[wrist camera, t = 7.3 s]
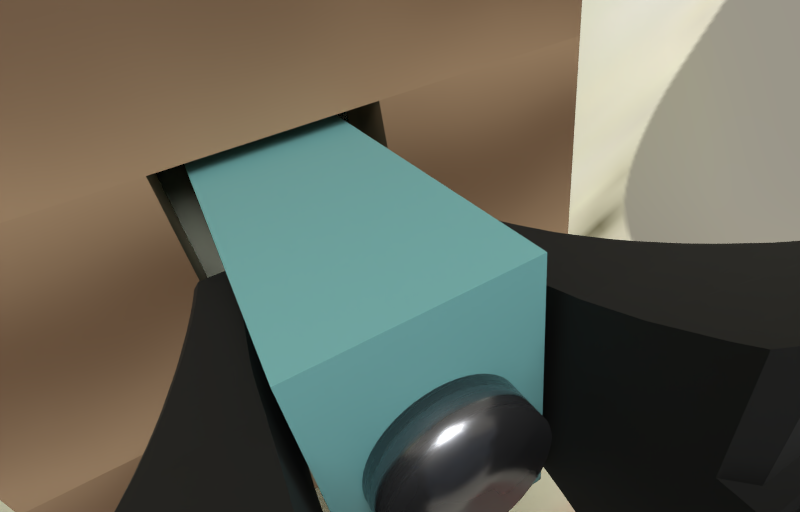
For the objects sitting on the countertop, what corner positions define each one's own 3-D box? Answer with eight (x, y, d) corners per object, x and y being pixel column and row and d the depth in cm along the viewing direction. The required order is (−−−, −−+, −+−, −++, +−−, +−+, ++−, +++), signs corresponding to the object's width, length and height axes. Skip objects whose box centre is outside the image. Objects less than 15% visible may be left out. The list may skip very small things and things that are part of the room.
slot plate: (521, 314, 18) (560, 347, 16) (121, 525, 13) (123, 597, 12) (518, -203, 9) (596, -235, 8) (-505, -80, 5) (-754, -99, 4)
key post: (361, 266, 13) (568, 512, 7) (252, 313, 12) (389, 640, 6) (320, 104, 10) (591, 281, 4) (178, 149, 9) (290, 439, 4)
